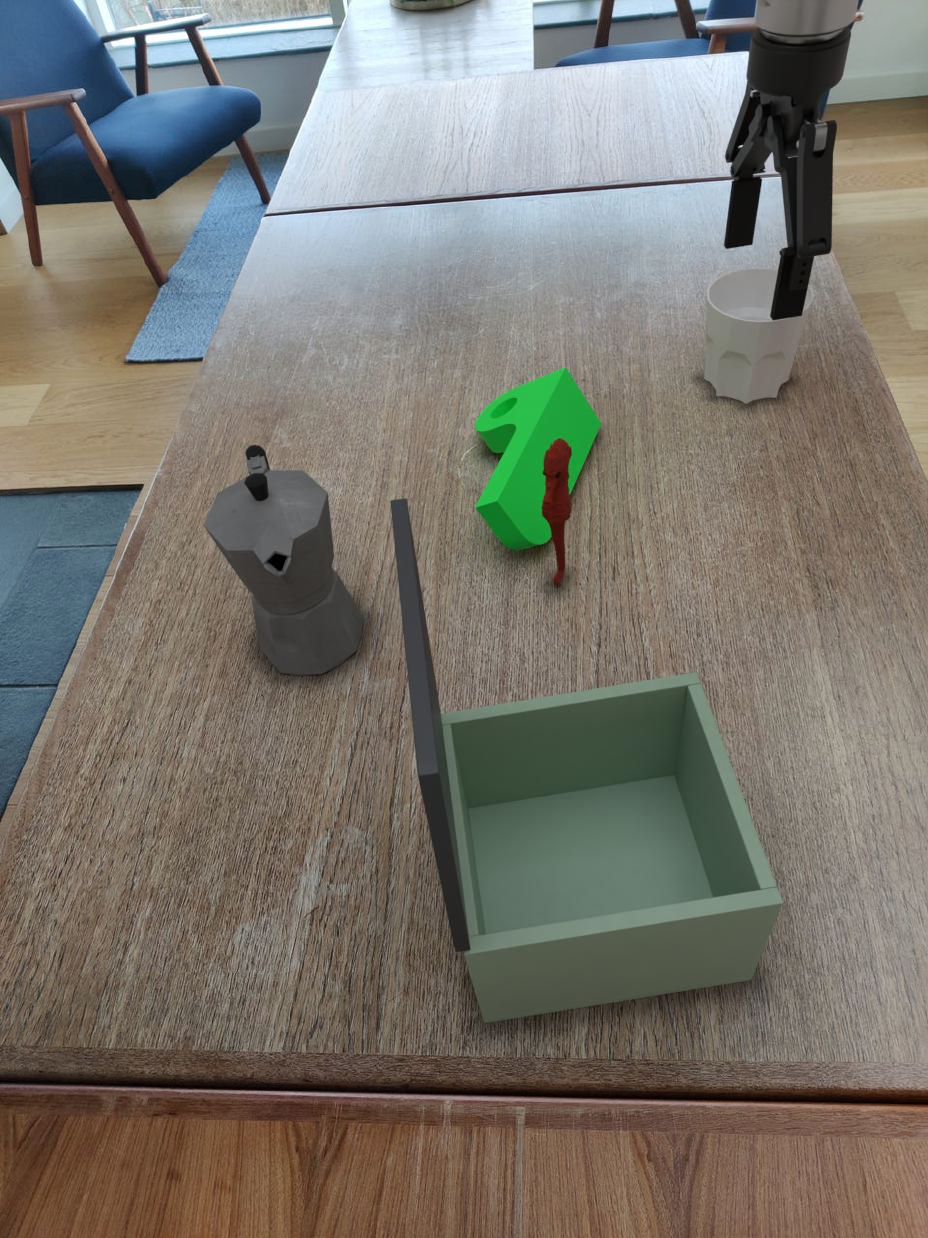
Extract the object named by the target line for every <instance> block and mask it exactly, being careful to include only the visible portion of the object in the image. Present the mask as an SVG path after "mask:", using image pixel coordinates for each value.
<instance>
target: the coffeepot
mask: <svg viewBox="0 0 928 1238" xmlns="http://www.w3.org/2000/svg"><path fill="white" fill-rule="evenodd" d="M244 454H245V457H246V461H245V462H246V467H247V472H248V475H247V476H246V477H244V478H242V479H240V480H237V481H236V482H234V483H232V484H231V485H229V486H227V487H226V488H223V489H222V490H220V491H218V492H217V494H216V496H215V498H214V500H213V503H212V505H211V507H210V509H209V511H208V515H207V517H206V518H205V521H204V524H203V527H204V529H205V530H206V531H207V533H208V534H209V536H210V538H211V539H212V541H213V542H214V543H215V545H216V546H217V547H218V549H219V551H220V552H221V553H222V555H223V556H224V558H225V559H226V561H227V562H228V564H229V565H230V567H231V568H232V569H233V571H234V573H235V574H236V575H237V577H238V579H239V580H240V581H241V582H242V584H243V585H244V586H245V588H246V589H247V590H248V591H249V592H250V593H251V595H252V596H251V605H252V611H253V616H254V622H255V628H256V635H257V639H258V645H259V649H260V651H261V652H262V653H263V654H264V655H265V656H266V658H267V660H268V661H269V662H270V664H272V665H273V666H274V667H275V668H276V670H277V671H279V673H280V674H284V675H291V676H299V677H300V676H301V677H305V676H316V675H323V674H325V673H327V672H329V671H331V670H333V669H336V668H338V667H339V666H340V665H342V664H343V663H344V662H346V661H347V660H349V658H350V657H351V656H352V655H353V654H355V653H356V652H358V647H359V644H360V642H361V640H362V639H361V638H362V632H363V627H364V623H365V618H364V616H363V614H362V612H361V611H360V609H359V607H358V606H357V604H356V602H355V601H354V599H353V598H352V596H351V594H350V592H349V591H348V589H347V587H346V585H345V584H344V582H343V580H342V578H341V577H340V575H339V574H338V572H336V570H335V569H334V568H333V564H334V559H335V549H334V539H333V530H332V529H333V528H332V522H331V510H330V501H329V492H328V491H327V490H326V489H325V488H324V487H323V486H321V485H320V484H319V483H318V482H317V481H316V480H315V479H313V477H311V476H310V475H309V474H308V473H306V472H305V471H304V470H303V469H290V470H289V469H281V470H278V469H276V470H275V469H274V470H272V469H271V468H270V464H269V460H268V456H267V451H266V450H265V448H264V447H262V446H261V445H258V444H252V445H249V446H248V447H247V448H246V449H245V453H244Z"/></svg>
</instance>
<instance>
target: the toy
mask: <svg viewBox="0 0 928 1238" xmlns="http://www.w3.org/2000/svg"><path fill="white" fill-rule="evenodd" d="M571 456H572V449H571V446H570V447H569V444H568V443H567V442H566V441H565V440H563V439H561V438H559V439H557V440H555V441H554V442H553V444H551V445H550V449H549V450H547V451H546V453H545V457H544V463H543V464H544V470H543V475H545V478H546V479H545V487H546V489H545V495H544V499H543V501H542V502H543V503H542V508H541V509H542V516H543V517H544V518H545V519H546V520H547V522H548V524H549V526H550V529H551V535H552V536H551V540H552V544H553V545H554V546H553V547H554V552H555V559H556V567H557V571H556V573H555V575H554V577H553V580H552V582H553V585H554V586H557V587H558V586H560V585H561V583H562V581H563V577H564V574H565V571H566V546H565V525H566V522H567V521H568V520H569V519H570V518H571V514H572V506H573V503H572V499H571V494H570V495H569V487H568V479H569V472H568V471H569V470H568V467H569V460H570V458H571Z"/></svg>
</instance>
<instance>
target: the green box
mask: <svg viewBox="0 0 928 1238" xmlns="http://www.w3.org/2000/svg"><path fill="white" fill-rule="evenodd" d="M441 720H442V727H443V735H444V743H445V751H446V759H447V767H448V775H449V783H450V791H451V799H452V806H453V814H454V822H455V830H456V838H457V846H458V854H459V862H460V870H461V877H462V885H463V893H464V901H465V909H466V917H467V925H468V933H469V941H470V948H471V949H470V950H468V951H463V956H464V959H465V963H466V966H467V970H468V972H469V976H470V981H471V984H472V987H473V989H474V993H475V994H474V995H475V997H476V1000H477V1003H478V1004H477V1005H478V1007H479V1010H480V1015H481V1017H482V1020H483V1024H489V1023H494V1022H501V1021H506V1020H513V1019H520V1018H526V1017H533V1016H537V1015H545V1014H551V1013H557V1012H564V1011H568V1010H569V1011H570V1010H574V1009H575V1010H576V1009H581V1008H587V1007H595V1006H599V1005H606V1004H613V1003H618V1002H619V1003H620V1002H625V1001H631V1000H638V999H643V998H650V997H656V996H662V995H668V994H674V993H679V992H680V993H681V992H685V991H693V990H699V989H705V988H710V987H718V986H723V985H730V984H736V983H742V982H749V981H752V978H753V976H754V974H755V972H756V970H757V967H758V965H759V962H760V960H761V958H762V955H763V953H764V950H765V948H766V946H767V943H768V942H769V938H770V936H771V933H772V931H773V930H774V927H775V925H776V922H777V920H778V917H779V914H780V912H781V909H782V907H783V905H784V901H783V898H782V895H781V892H780V890H779V887H777V886H778V885H777V883H776V880H775V877H774V875H773V872H772V869H771V867H770V864H769V861H768V859H767V856H766V853H765V851H764V848H763V845H762V841H761V840H760V836H759V834H758V832H757V829H756V826H755V823H754V821H753V819H752V816H751V813H750V810H749V808H748V805H747V802H746V800H745V797H744V794H743V792H742V789H741V786H740V784H739V781H738V778H737V776H736V773H735V770H734V768H733V765H732V762H731V759H730V757H729V754H728V751H727V749H726V746H725V743H724V741H723V738H722V736H721V733H720V730H719V727H718V724H717V722H716V718H715V717H714V714H713V712H712V709H711V705H710V703H709V701H708V698H707V695H706V693H705V690H704V687H703V684H702V682H701V678H700V675H699V673H698V672H697V671H694V672H689V673H682V674H676V675H670V676H664V677H659V678H658V677H656V678H651V679H645V680H639V681H633V682H627V683H621V684H615V685H609V686H602V687H595V688H591V689H583V690H577V691H571V692H565V693H559V694H553V695H547V696H546V695H545V696H541V697H534V698H529V699H522V700H515V701H510V702H504V703H497V704H492V705H485V706H478V707H473V708H468V709H460V710H454V711H448V712H442V713H441Z"/></svg>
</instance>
